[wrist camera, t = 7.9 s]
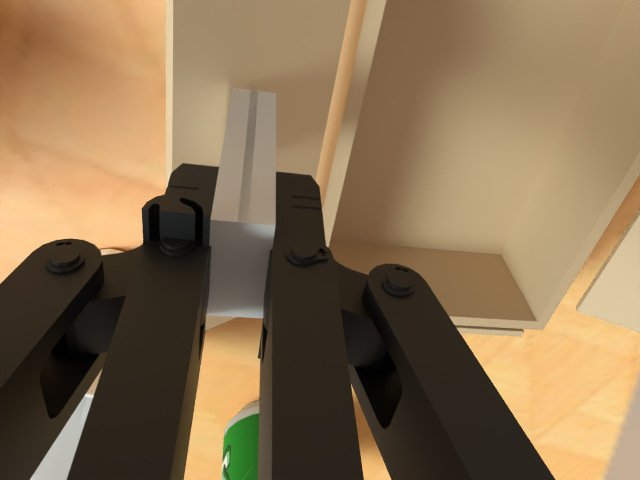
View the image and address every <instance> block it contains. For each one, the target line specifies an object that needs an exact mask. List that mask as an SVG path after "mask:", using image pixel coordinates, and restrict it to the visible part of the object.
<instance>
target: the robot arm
mask: <svg viewBox="0 0 640 480" xmlns="http://www.w3.org/2000/svg"><path fill="white" fill-rule="evenodd" d="M142 223H143V245H141V246H139V247H138V248H135V249H132V250H130V251H126V252H121V253H115V254H107V255H101V251H100V250H99V249H98V248H97V247H96V246H95V245H94V244H92V243H89V242H87V241H84V240H78V239H62V240H55V241H52V242H50V243H47V244H44V245H42V246H41V247H39V248H38V249H36V250H35V251H33V252H32V253H31V254H30V255H29V256H28V257H27V258H26V259H25V260H24V261H23V262H22V263H21V264H20V265H19V266H18V267H17V268H16V269H15V270H14V271H13V272H12V273H11V274H10V275H9V276H8V277H7V278H6V279H5V280H4V281H3V282H2V283H1V284H0V480H30V479H31V477H32V476H33V474H34V473H35V471H36V470H37V468H38V466H39V465H40V463H41V462H42V460H43V459H44V457H45V456H46V454H47V453H48V451H49V450H50V448H51V447H52V445H53V443H54V442H55V440H56V439H57V437H58V436H59V434H60V433H61V431H62V430H63V428H64V427H65V425H66V424H67V422H68V420H69V419H70V417H71V416H72V414H73V413H74V411H75V410H76V408H77V407H78V405H79V404H80V402H81V400H82V399H83V397H84V396H85V394H86V393H87V391H88V390H89V388H90V387H91V385H92V384H93V382H94V381H95V379H96V377H97V376H98V374H99V373H100V371H101V370H102V372H101V375H100V378H99V381H98V384H97V387H96V390H95V393H94V396H93V399H92V402H91V406H90V409H89V412H88V415H87V418H86V421H85V424H84V427H83V430H82V433H81V436H80V440H79V443H78V446H77V449H76V452H75V455H74V458H73V461H72V464H71V467H70V470H69V474H68V477H67V480H184V473H185V466H186V459H187V453H188V446H189V439H190V432H191V426H192V419H193V412H194V405H195V399H196V392H197V385H198V379H199V372H200V365H201V358H202V352H203V345H204V338H205V327H206V315H215V316H230V317H247V318H262V319H263V325H262V332H261V339H260V347H259V354H258V358H260V398H259V441H258V480H364V478H363V471H362V463H361V456H360V449H359V441H358V434H357V426H356V419H355V412H354V404H353V397H352V389H351V384H352V386H353V389H354V391H355V394H356V396H357V398H358V401H359V403H360V406H361V408H362V410H363V413H364V415H365V417H366V420H367V422H368V425H369V427H370V429H371V432H372V434H373V437H374V439H375V441H376V444H377V446H378V448H379V451H380V453H381V456H382V458H383V460H384V463H385V465H386V468H387V470H388V472H389V475H390V477H391V479H392V480H555V478H554V477H553V475H552V474H551V472H550V471H549V469H548V468H547V466H546V465H545V463H544V462H543V460H542V458H541V457H540V455H539V454H538V452H537V451H536V449H535V448H534V446H533V445H532V443H531V442H530V440H529V438H528V437H527V435H526V434H525V432H524V431H523V429H522V428H521V426H520V425H519V423H518V422H517V420H516V419H515V417H514V415H513V414H512V412H511V411H510V409H509V408H508V406H507V405H506V403H505V402H504V400H503V399H502V397H501V395H500V394H499V392H498V391H497V389H496V388H495V386H494V385H493V383H492V382H491V380H490V379H489V377H488V376H487V374H486V372H485V371H484V369H483V368H482V366H481V365H480V363H479V362H478V360H477V359H476V357H475V356H474V354H473V352H472V351H471V349H470V348H469V346H468V345H467V343H466V342H465V340H464V339H463V337H462V336H461V334H460V333H459V331H458V329H457V328H456V326H455V325H454V323H453V322H452V320H451V319H450V317H449V316H448V314H447V313H446V311H445V309H444V308H443V306H442V305H441V303H440V302H439V300H438V299H437V297H436V296H435V294H434V293H433V291H432V290H431V288H430V286H429V285H428V283H427V282H426V281H425V280H424V278H423V277H422V276H421V275H420V274H419V273H417V272H415V271H414V270H412V269H410V268H409V267H405V266H402V265H399V264H382V265H378V266H376V267H374V268H373V269H372V270H371V271H370V272H369V275H367V274H364V273H361V272H358V271H355V270H352V269H349V268H347V267H345V266H343V265H341V264H340V263H338V262H337V261H336V260H335V259H334V257H333V255H332V252H331V250H330V249H329V248H328V247H327V246H326V240H325V231H324V222H323V213H322V204H321V195H320V186H319V185H318V184H317V183H316V181H315V180H314V179H313V177H312V176H311V175H305V174H296V173H286V172H277V171H276V93H272V92H264V91H256V90H248V89H240V88H232V93H231V99H230V105H229V111H228V117H227V123H226V129H225V135H224V141H223V147H222V153H221V159H220V165H219V167H216V166H206V165H197V164H187V163H182V164H181V165H180V166H179V167H177V168H176V169H175V170H174V171H173V172H172V173H171V175H170V178H169V182H168V187H167V189H166V192H165V195H162V196H157V197H155V198H153V199H151V200H150V201H148V202H147V203H146V204H145V205H144V207H143V208H142Z"/></svg>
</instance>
